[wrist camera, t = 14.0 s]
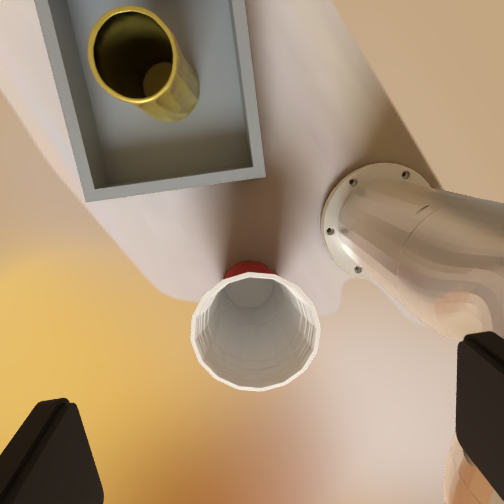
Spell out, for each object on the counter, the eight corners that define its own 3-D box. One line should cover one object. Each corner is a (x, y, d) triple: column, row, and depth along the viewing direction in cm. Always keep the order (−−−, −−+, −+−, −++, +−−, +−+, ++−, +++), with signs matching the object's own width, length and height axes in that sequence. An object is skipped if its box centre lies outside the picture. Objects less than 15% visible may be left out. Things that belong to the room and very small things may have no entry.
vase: (192, 46, 35) (172, -14, 21) (206, 116, 37) (196, 101, 23) (126, 58, 35) (64, 5, 21) (143, 128, 37) (96, 120, 23)
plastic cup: (212, 225, 41) (208, 258, 29) (308, 251, 42) (339, 292, 31) (187, 316, 43) (174, 379, 32) (278, 337, 45) (297, 404, 33)
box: (235, -31, 34) (237, -62, 29) (260, 172, 40) (265, 176, 34) (55, -9, 34) (24, -36, 29) (104, 194, 39) (86, 202, 34)
